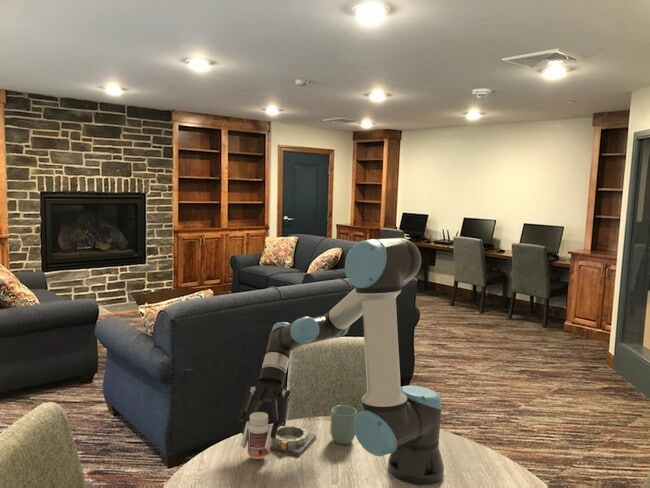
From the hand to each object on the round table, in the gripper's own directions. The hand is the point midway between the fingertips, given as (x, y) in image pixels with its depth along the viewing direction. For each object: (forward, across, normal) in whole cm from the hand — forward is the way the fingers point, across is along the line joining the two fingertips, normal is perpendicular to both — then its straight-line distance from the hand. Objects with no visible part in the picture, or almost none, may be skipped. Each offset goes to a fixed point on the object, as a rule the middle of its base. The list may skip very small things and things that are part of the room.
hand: (255, 447), depth 149 cm
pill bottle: (0, 0, -5) cm, 5 cm away
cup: (-11, -21, -18) cm, 30 cm away
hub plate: (-7, -6, -14) cm, 17 cm away
